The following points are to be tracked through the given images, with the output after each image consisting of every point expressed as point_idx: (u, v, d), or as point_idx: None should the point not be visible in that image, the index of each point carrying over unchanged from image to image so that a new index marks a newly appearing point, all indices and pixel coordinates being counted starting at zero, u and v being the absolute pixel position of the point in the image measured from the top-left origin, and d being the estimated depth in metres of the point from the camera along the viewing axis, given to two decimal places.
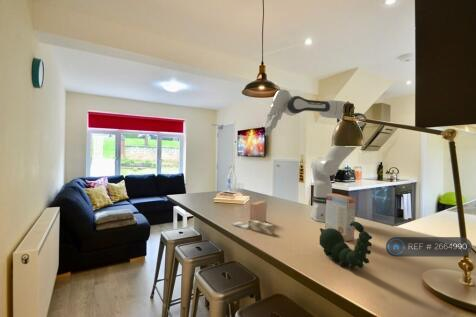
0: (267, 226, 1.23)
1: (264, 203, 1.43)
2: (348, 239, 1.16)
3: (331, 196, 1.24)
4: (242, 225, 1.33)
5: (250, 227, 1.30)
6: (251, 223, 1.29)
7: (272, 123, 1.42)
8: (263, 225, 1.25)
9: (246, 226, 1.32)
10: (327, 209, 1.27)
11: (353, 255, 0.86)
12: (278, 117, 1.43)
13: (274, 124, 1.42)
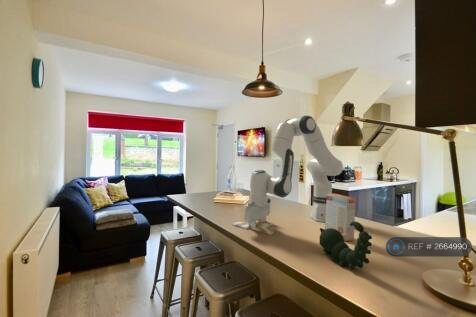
0: (267, 226, 1.23)
1: None
2: (348, 239, 1.16)
3: (331, 196, 1.24)
4: (242, 225, 1.33)
5: (250, 227, 1.30)
6: (251, 223, 1.29)
7: (245, 218, 1.21)
8: (263, 225, 1.25)
9: (246, 226, 1.32)
10: (327, 209, 1.27)
11: (353, 255, 0.86)
12: (250, 209, 1.20)
13: (247, 219, 1.21)
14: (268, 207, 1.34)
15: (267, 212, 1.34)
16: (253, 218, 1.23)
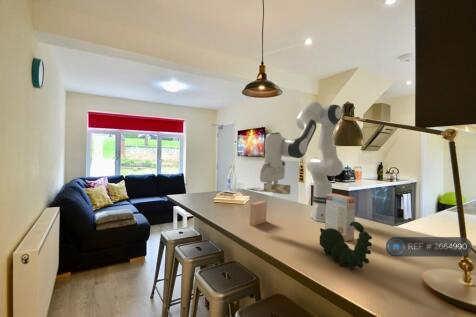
0: (283, 186, 1.23)
1: (264, 203, 1.43)
2: (348, 239, 1.16)
3: (331, 196, 1.24)
4: (257, 189, 1.33)
5: (266, 189, 1.30)
6: (266, 186, 1.29)
7: (261, 178, 1.21)
8: (279, 186, 1.25)
9: (261, 189, 1.32)
10: (327, 209, 1.27)
11: (353, 255, 0.86)
12: (266, 169, 1.20)
13: (263, 179, 1.20)
14: (283, 170, 1.33)
15: (282, 175, 1.33)
16: (269, 179, 1.22)
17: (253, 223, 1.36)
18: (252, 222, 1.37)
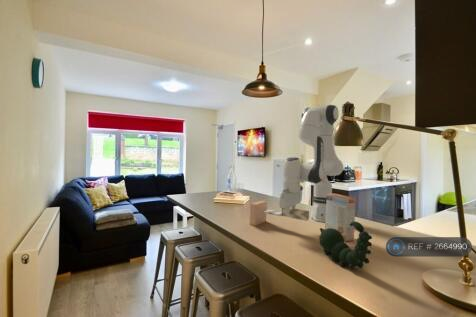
0: (302, 212, 1.24)
1: (264, 203, 1.43)
2: (348, 239, 1.16)
3: (331, 196, 1.24)
4: (274, 212, 1.33)
5: (283, 214, 1.30)
6: (284, 210, 1.30)
7: (280, 204, 1.22)
8: (298, 211, 1.25)
9: (279, 213, 1.32)
10: (327, 209, 1.27)
11: (353, 255, 0.86)
12: (285, 195, 1.21)
13: (283, 205, 1.21)
14: (300, 194, 1.34)
15: (299, 199, 1.34)
16: (288, 205, 1.23)
17: (253, 223, 1.36)
18: (252, 222, 1.37)
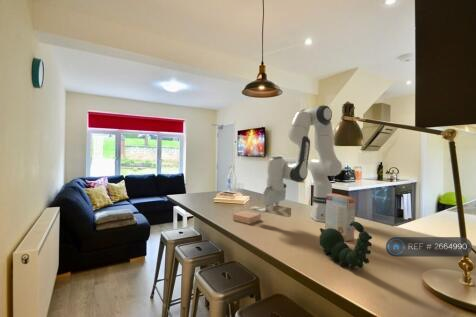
0: (284, 209, 1.29)
1: (243, 211, 1.52)
2: (348, 239, 1.16)
3: (331, 196, 1.24)
4: (259, 209, 1.39)
5: (267, 210, 1.36)
6: (268, 207, 1.35)
7: (263, 201, 1.27)
8: (280, 208, 1.31)
9: (263, 210, 1.38)
10: (327, 209, 1.27)
11: (353, 255, 0.86)
12: (268, 192, 1.27)
13: (265, 201, 1.27)
14: (284, 192, 1.40)
15: (283, 197, 1.40)
16: (271, 202, 1.29)
17: (247, 219, 1.39)
18: (247, 220, 1.39)
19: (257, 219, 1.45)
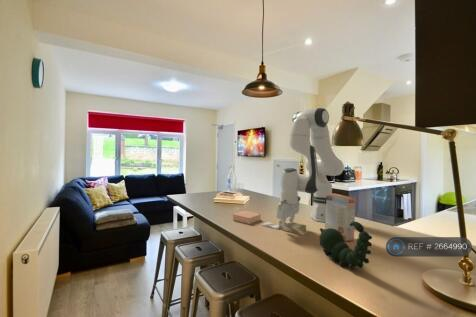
0: (299, 226, 1.25)
1: (243, 211, 1.52)
2: (348, 239, 1.16)
3: (331, 196, 1.24)
4: (272, 225, 1.35)
5: (281, 227, 1.31)
6: None
7: (278, 215, 1.22)
8: (295, 225, 1.26)
9: (276, 226, 1.33)
10: (327, 209, 1.27)
11: (353, 255, 0.86)
12: (283, 207, 1.22)
13: (280, 216, 1.22)
14: (298, 205, 1.35)
15: (297, 210, 1.35)
16: (285, 216, 1.24)
17: (248, 219, 1.39)
18: (247, 220, 1.39)
19: (257, 219, 1.45)
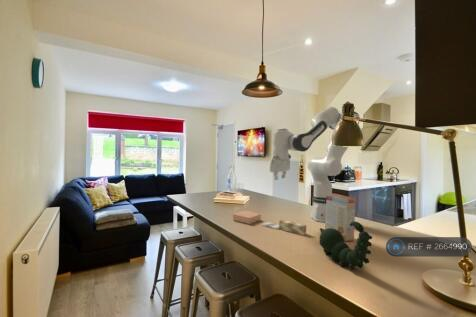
0: (299, 226, 1.24)
1: (243, 211, 1.52)
2: (348, 239, 1.16)
3: (331, 196, 1.24)
4: (272, 225, 1.34)
5: (281, 227, 1.31)
6: (282, 224, 1.31)
7: (271, 169, 1.37)
8: (295, 225, 1.26)
9: (276, 226, 1.33)
10: (327, 209, 1.27)
11: (353, 255, 0.86)
12: (275, 161, 1.37)
13: (273, 169, 1.37)
14: (288, 163, 1.50)
15: (288, 167, 1.50)
16: (278, 169, 1.39)
17: (248, 219, 1.39)
18: (247, 220, 1.39)
19: (257, 219, 1.45)
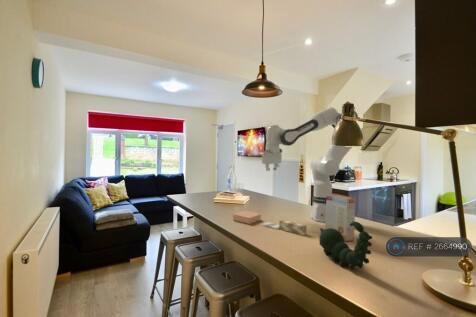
0: (299, 226, 1.24)
1: (243, 211, 1.52)
2: (348, 239, 1.16)
3: (331, 196, 1.24)
4: (272, 225, 1.34)
5: (281, 227, 1.31)
6: (282, 224, 1.31)
7: (262, 161, 1.54)
8: (295, 225, 1.26)
9: (277, 226, 1.33)
10: (327, 209, 1.27)
11: (353, 255, 0.86)
12: (266, 153, 1.53)
13: (264, 161, 1.54)
14: (280, 156, 1.67)
15: (279, 160, 1.67)
16: (269, 162, 1.56)
17: (248, 219, 1.39)
18: (247, 220, 1.39)
19: (257, 219, 1.45)
